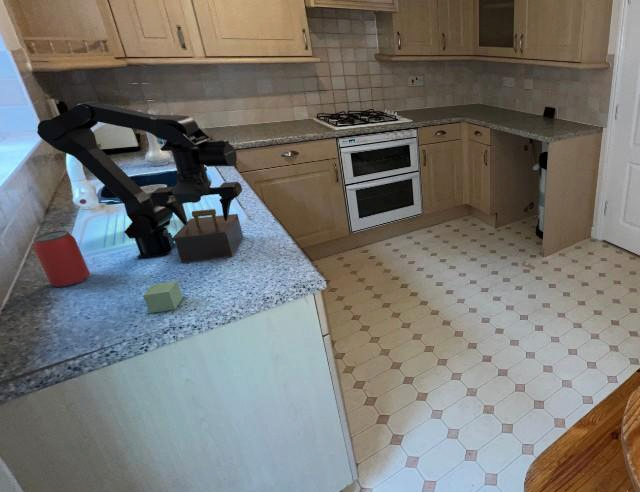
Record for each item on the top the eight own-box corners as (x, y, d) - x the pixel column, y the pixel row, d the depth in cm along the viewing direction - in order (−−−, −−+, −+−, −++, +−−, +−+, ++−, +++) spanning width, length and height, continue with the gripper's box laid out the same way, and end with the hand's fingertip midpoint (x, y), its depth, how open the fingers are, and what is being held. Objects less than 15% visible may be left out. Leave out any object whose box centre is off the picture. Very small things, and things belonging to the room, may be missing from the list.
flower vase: (190, 162, 192) (175, 108, 183) (141, 170, 178) (121, 113, 169) (180, 157, 199) (165, 106, 190) (132, 165, 185) (113, 110, 176)
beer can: (56, 291, 92) (33, 244, 88) (48, 282, 95) (26, 237, 91) (95, 278, 97) (75, 233, 93) (85, 270, 101) (67, 226, 96)
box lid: (225, 235, 105) (220, 217, 103) (172, 241, 102) (166, 223, 100) (238, 216, 117) (234, 200, 115) (191, 221, 113) (186, 204, 111)
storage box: (232, 256, 109) (226, 234, 106) (181, 263, 105) (174, 239, 102) (243, 237, 119) (238, 216, 117) (197, 242, 116) (191, 221, 113)
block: (149, 313, 85) (142, 295, 84) (158, 301, 89) (152, 284, 88) (175, 309, 87) (168, 291, 85) (182, 297, 91) (177, 280, 89)
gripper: (130, 179, 93) (151, 239, 99) (224, 172, 99) (239, 229, 105) (151, 166, 103) (169, 222, 109) (235, 161, 109) (248, 214, 115)
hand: (206, 222), depth 109 cm, fingers open, 9 cm apart
